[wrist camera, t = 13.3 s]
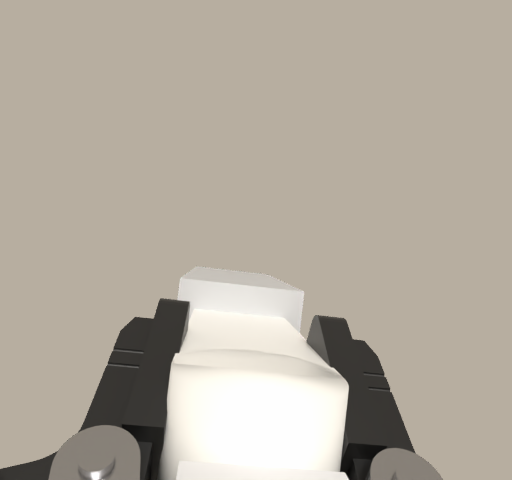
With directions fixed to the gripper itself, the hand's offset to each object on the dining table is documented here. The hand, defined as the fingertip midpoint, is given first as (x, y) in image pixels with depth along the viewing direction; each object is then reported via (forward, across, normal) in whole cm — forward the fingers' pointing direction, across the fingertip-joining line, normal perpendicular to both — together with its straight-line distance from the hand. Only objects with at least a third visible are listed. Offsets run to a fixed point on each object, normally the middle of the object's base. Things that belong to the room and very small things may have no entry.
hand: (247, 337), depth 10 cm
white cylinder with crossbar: (+2, 0, +4) cm, 5 cm away
